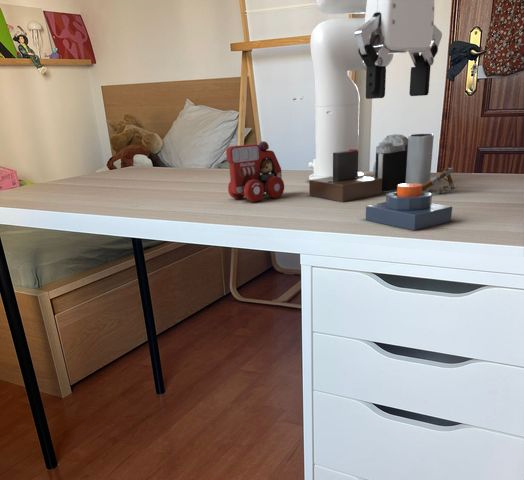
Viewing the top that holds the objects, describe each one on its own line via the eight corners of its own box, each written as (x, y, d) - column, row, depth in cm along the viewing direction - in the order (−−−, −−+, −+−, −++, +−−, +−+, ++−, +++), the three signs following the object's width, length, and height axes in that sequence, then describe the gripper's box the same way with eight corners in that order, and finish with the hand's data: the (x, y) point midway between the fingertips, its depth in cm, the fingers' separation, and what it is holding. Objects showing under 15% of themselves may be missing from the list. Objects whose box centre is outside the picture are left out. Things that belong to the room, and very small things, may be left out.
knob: (338, 180, 101) (338, 151, 98) (332, 180, 102) (332, 151, 100) (357, 177, 103) (358, 149, 101) (352, 176, 104) (352, 148, 102)
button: (391, 197, 80) (392, 185, 80) (408, 193, 82) (408, 182, 81) (409, 200, 78) (410, 187, 77) (426, 196, 79) (427, 184, 78)
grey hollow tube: (416, 194, 100) (420, 136, 96) (400, 191, 104) (403, 135, 99) (434, 191, 102) (439, 134, 98) (417, 188, 106) (421, 133, 101)
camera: (401, 179, 117) (404, 131, 112) (428, 182, 112) (432, 131, 108) (358, 189, 108) (359, 137, 104) (385, 192, 103) (388, 138, 99)
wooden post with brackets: (460, 186, 100) (454, 164, 97) (425, 208, 100) (418, 186, 97) (455, 185, 101) (449, 163, 99) (419, 206, 101) (412, 185, 99)
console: (309, 195, 105) (309, 179, 104) (347, 188, 110) (347, 173, 108) (342, 201, 98) (342, 184, 96) (381, 194, 102) (382, 177, 101)
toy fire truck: (292, 195, 106) (290, 140, 102) (242, 205, 100) (238, 146, 95) (270, 191, 111) (268, 139, 107) (222, 200, 105) (217, 145, 100)
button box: (365, 220, 83) (366, 194, 82) (401, 212, 87) (402, 187, 85) (414, 230, 76) (416, 202, 74) (450, 221, 79) (453, 194, 78)
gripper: (422, -32, 78) (414, 95, 86) (338, -43, 69) (337, 100, 77) (467, -44, 73) (454, 93, 80) (382, -58, 64) (376, 98, 71)
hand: (397, 96), depth 78 cm, fingers open, 9 cm apart
